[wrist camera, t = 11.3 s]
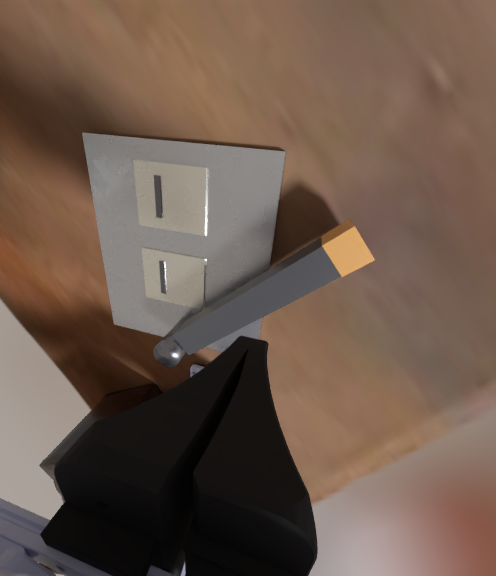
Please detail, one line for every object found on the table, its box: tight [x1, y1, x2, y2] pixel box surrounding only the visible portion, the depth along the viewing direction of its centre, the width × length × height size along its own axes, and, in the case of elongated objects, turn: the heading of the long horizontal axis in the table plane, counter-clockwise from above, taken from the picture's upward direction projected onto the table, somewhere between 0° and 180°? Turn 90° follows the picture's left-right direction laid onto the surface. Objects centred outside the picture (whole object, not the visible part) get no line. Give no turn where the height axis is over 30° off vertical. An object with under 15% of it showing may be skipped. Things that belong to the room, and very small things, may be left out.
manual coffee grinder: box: [39, 384, 163, 575], centre depth 27 cm, size 16×11×18 cm
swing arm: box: [172, 219, 375, 355], centre depth 18 cm, size 16×2×2 cm, turn 127°
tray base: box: [82, 133, 286, 367], centre depth 20 cm, size 18×16×5 cm
